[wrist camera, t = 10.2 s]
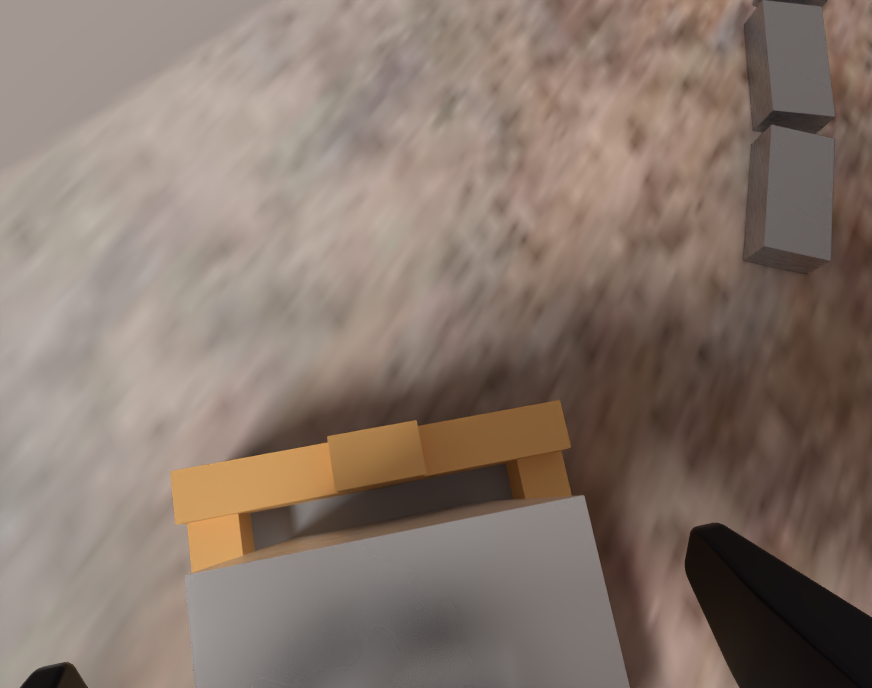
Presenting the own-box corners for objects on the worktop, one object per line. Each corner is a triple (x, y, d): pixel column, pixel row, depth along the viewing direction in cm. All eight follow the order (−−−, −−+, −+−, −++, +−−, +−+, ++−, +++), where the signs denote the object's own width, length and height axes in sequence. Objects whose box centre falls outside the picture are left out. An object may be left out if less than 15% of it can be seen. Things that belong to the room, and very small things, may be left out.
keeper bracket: (620, 829, 17) (712, 952, 12) (259, 929, 16) (207, 1108, 11) (527, 419, 19) (574, 391, 15) (210, 478, 18) (152, 468, 13)
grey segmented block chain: (809, 275, 21) (834, 261, 20) (725, 256, 21) (745, 242, 20) (823, -72, 25) (845, -99, 24) (752, -88, 25) (770, -117, 24)
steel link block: (516, 700, 16) (866, 1200, 4) (319, 747, 16) (134, 1472, 4) (476, 501, 17) (673, 489, 6) (292, 538, 17) (86, 608, 5)
